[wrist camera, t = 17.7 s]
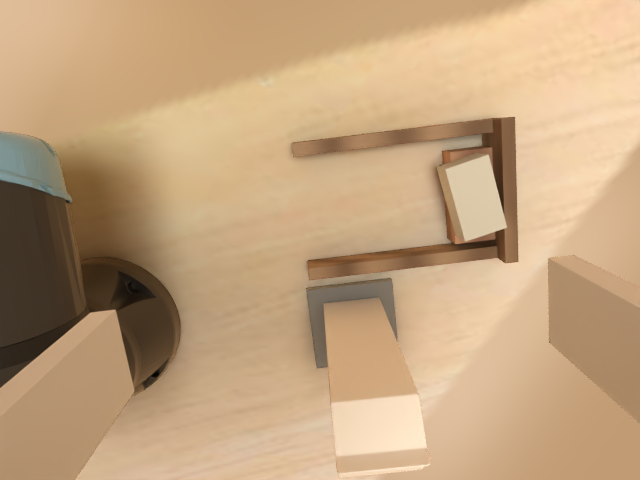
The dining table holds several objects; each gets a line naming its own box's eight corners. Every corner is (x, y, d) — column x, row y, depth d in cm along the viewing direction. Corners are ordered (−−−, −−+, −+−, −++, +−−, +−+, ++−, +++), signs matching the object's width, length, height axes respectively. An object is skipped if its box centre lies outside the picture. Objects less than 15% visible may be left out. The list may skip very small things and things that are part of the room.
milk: (383, 348, 52) (436, 507, 30) (327, 354, 52) (341, 517, 30) (379, 295, 50) (432, 422, 29) (322, 301, 50) (332, 433, 29)
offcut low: (446, 237, 50) (455, 244, 47) (441, 150, 48) (450, 152, 45) (484, 232, 50) (495, 239, 47) (480, 146, 48) (492, 147, 45)
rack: (309, 271, 50) (309, 286, 45) (292, 142, 47) (290, 144, 42) (498, 248, 50) (518, 261, 45) (493, 118, 47) (514, 117, 42)
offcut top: (455, 234, 47) (465, 241, 44) (436, 166, 45) (445, 169, 42) (494, 221, 47) (507, 227, 44) (476, 152, 45) (488, 154, 42)
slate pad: (316, 364, 53) (316, 368, 52) (306, 288, 51) (306, 290, 50) (397, 355, 53) (398, 358, 52) (390, 278, 51) (392, 280, 50)
